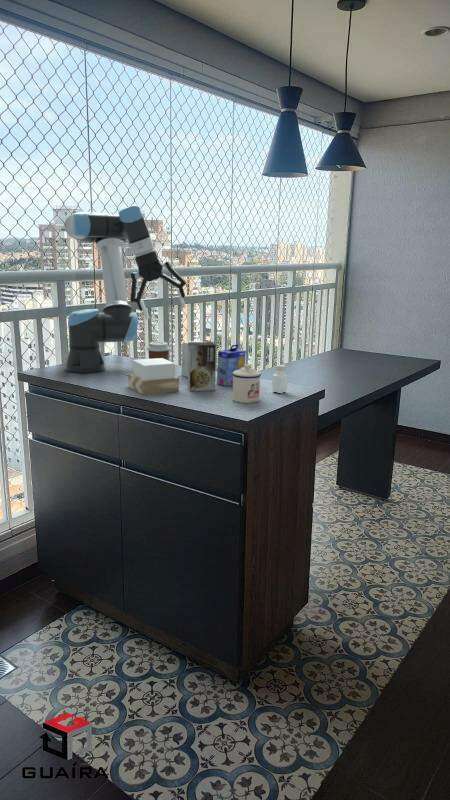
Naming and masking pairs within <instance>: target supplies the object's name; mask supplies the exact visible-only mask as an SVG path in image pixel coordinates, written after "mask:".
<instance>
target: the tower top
mask: <svg viewBox="0 0 450 800" xmlns="http://www.w3.org/2000/svg"><path fill="white" fill-rule="evenodd" d="M132 373H133V374H134V375H135V376H137V377H139V378H141V379H142V380H144V381H146V380H157V379H169V378H175V376H176V363H175V362H172V361H170V360H169V359H168V360H166V359H164V358H155V359H149V358H142V359H133V360H132Z"/></svg>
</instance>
